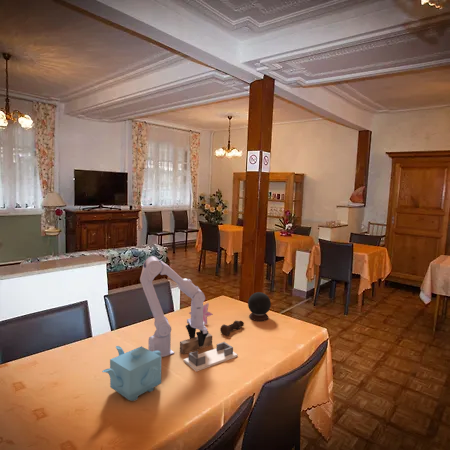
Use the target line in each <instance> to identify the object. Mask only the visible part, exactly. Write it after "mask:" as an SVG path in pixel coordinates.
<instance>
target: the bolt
mask: <svg viewBox="0 0 450 450" xmlns="http://www.w3.org/2000/svg"><path fill="white" fill-rule="evenodd" d="M244 326H245V322H244V321H243V320H235V321H233V323H230V324H229V325H226V324H222V325H221V326H220V333H221V335H223V336H226V337H227V336H229V335H230V333H231V332H232V331H234V330H235V331H239V330H240V329H241V328H242V327H244Z"/></svg>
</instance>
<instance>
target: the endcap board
mask: <svg viewBox="0 0 450 450" xmlns="http://www.w3.org/2000/svg"><path fill="white" fill-rule="evenodd" d="M238 356H239V355H238V353H236V352H235V351H234V347H233V346H231V345H230V344H229V343H227V342H226V341H223V342H219V343H217V344H216V347H215V348H212V349H210V350H207V351H203V352H201V353H199V350H195V351H192V352H189V353H188V357H186V358H183V362H184V363H185V364H186V365H187V366H188V367H190V368H191V369H193V370H194V371H195V372H199V371H202V370H204V369H207V368H209V367H213V366H215V365H218V364H220V363H223V362H224V363H225V362H227V361H228V360H232V359H235V358H237V357H238Z"/></svg>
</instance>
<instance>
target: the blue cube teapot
mask: <svg viewBox="0 0 450 450" xmlns="http://www.w3.org/2000/svg"><path fill="white" fill-rule="evenodd" d="M115 348H116V351H117V353H118V356H115V357H113V358H110V359H109V368H106V369H103V370H102V373H106V374H108V376H109V379H110V380H109V385H110V386H109V387H110V388H111V389H113V390H114V391H115V392H116V393H118V394H120V395H121V396H122V397H124V399H126V400H128V401H131V402H135V401H138V399H139V396H140V395H143V394H144V393H146V392H149V393H150V392H153V391H154V390H155V387H157V386H159V385H161V384H162V357H161V352H160V351H153V352H152V351H150V350H148V349H147V348H145V347H144V346H142V345H141V346H139V347H136V348H134V349H132V350H129V351H127V352H125V351H124V349H123V348H122V347H121V346H119V345H115Z"/></svg>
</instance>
